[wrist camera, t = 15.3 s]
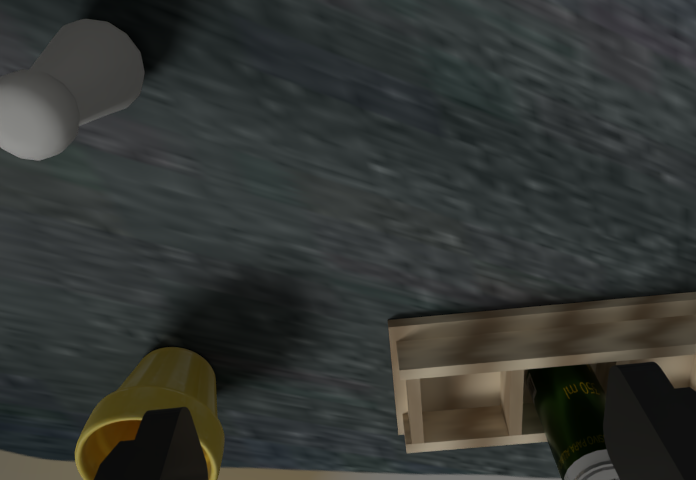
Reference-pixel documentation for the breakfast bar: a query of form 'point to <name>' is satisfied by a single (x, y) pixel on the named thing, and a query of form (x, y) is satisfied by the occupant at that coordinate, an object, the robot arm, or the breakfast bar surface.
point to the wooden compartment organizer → (524, 363)
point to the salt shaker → (68, 88)
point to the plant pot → (155, 407)
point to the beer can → (572, 420)
